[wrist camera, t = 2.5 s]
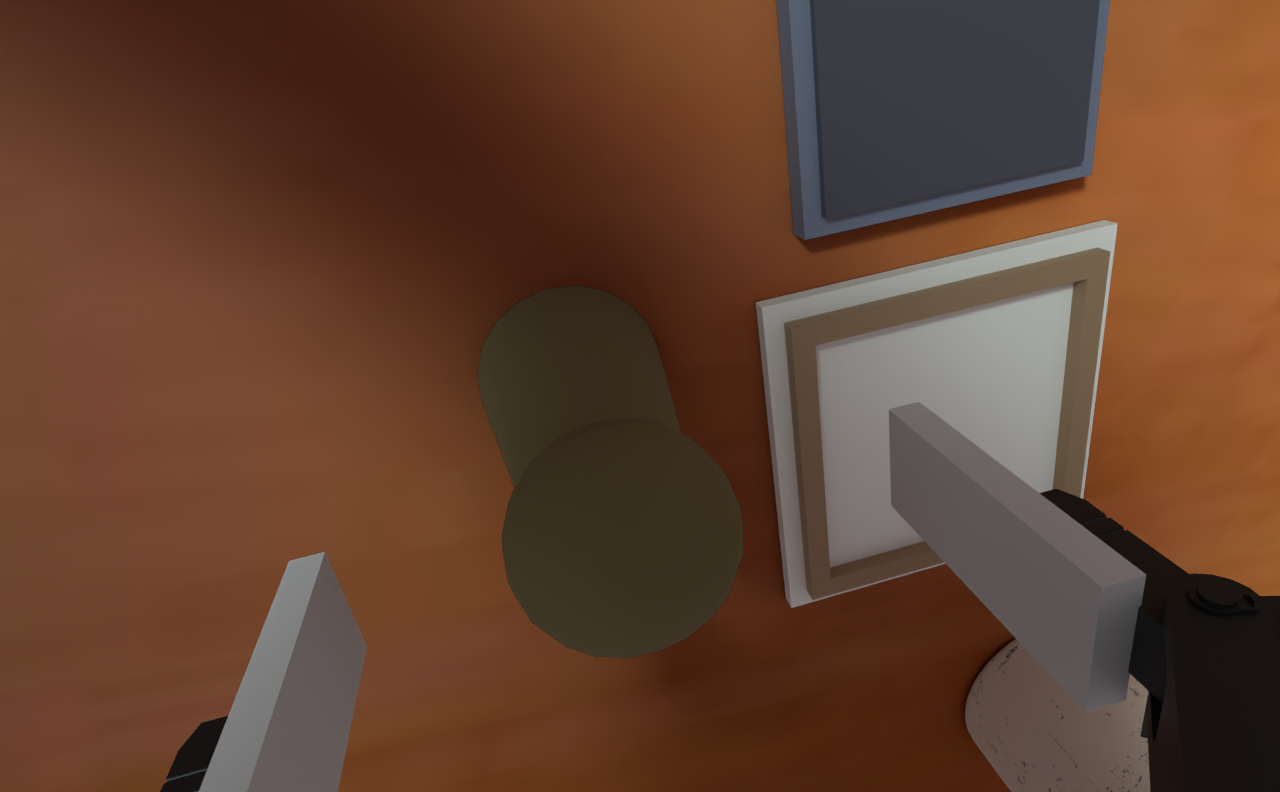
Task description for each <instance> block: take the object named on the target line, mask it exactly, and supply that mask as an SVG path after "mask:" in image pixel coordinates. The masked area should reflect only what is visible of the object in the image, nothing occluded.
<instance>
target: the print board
mask: <svg viewBox="0 0 1280 792" xmlns="http://www.w3.org/2000/svg"><path fill="white" fill-rule="evenodd" d="M1117 224H1118V223H1114V222H1110V221H1106V220H1102V221H1098V222H1094V223H1090V224H1085V225H1081V226H1077V227H1073V228H1068V229H1064V230H1060V231H1056V232H1051V233H1047V234H1043V235H1039V236H1034V237H1030V238H1026V239H1022V240H1017V241H1013V242H1009V243H1005V244H1001V245H996V246H992V247H988V248H984V249H979V250H975V251H971V252H967V253H962V254H958V255H954V256H950V257H945V258H941V259H937V260H933V261H929V262H924V263H920V264H916V265H912V266H907V267H903V268H899V269H895V270H890V271H886V272H882V273H878V274H873V275H869V276H865V277H861V278H856V279H852V280H848V281H844V282H840V283H835V284H831V285H827V286H823V287H818V288H814V289H810V290H806V291H801V292H797V293H793V294H789V295H784V296H780V297H776V298H772V299H767V300H763V301H759V302H756V311H757V321H758V331H759V341H760V350H761V360H762V370H763V380H764V390H765V400H766V409H767V419H768V429H769V439H770V449H771V459H772V468H773V478H774V488H775V498H776V508H777V518H778V527H779V537H780V547H781V557H782V567H783V576H784V586H785V596H786V600H787V601H788V603H789V605H790V607H791V608H793V607H797V606H800V605H804V604H807V603H811V602H814V601H818V600H821V599H825V598H828V597H832V596H835V595H839V594H842V593H846V592H849V591H853V590H856V589H860V588H863V587H866V586H870V585H873V584H877V583H880V582H884V581H887V580H891V579H894V578H898V577H901V576H905V575H908V574H912V573H915V572H919V571H922V570H926V569H929V568H933V567H936V566H940V565H943V564H946V563H945V562H944V561H943V560H942V559H941V558H940V557H939V556H938V555H937V554H936V553H935V552H934V551H933V550H932V549H931V547H930V546H929V545H928V544H927V543H926V542H925V541H924V540H923V539H922V538H921V537H920V536H919V535H918V534H917V533H916V531H915V530H914V529H913V528H912V527H911V526H910V525H909V524H908V523H907V522H906V521H905V520H904V519H903V518H902V517H901V516H900V514H899V513H898V512H897V511H896V510H895V509H894V508H893V507H892V506H891V480H890V441H889V409H892V408H896V407H900V406H903V405H907V404H911V403H915V402H920V403H921V404H923V405H924V406H925V407H927V408H928V409H929V410H931V411H932V412H933V413H934V414H936V415H937V416H938V417H940V418H941V419H942V420H944V421H945V422H946V423H948V424H949V425H950V426H952V427H953V428H954V429H956V430H957V431H958V432H959V433H961V434H962V435H963V436H965V437H966V438H967V439H969V440H970V441H971V442H973V443H974V444H975V445H977V446H978V447H979V448H981V449H982V450H983V451H984V452H986V453H987V454H988V455H990V456H991V457H992V458H994V459H995V460H996V461H998V462H999V463H1000V464H1002V465H1003V466H1004V467H1006V468H1007V469H1008V470H1009V471H1011V472H1012V473H1013V474H1015V475H1016V476H1017V477H1019V478H1020V479H1021V480H1023V481H1024V482H1025V483H1027V484H1028V485H1029V486H1030V487H1032V488H1033V489H1034V490H1036V491H1037V492H1038V493H1042V492H1045V491H1049V490H1053V489H1059V490H1061V491H1064V492H1067V493H1069V494H1072V495H1074V496H1077V497H1079V498H1082V499H1083V496H1084V488H1085V480H1086V472H1087V464H1088V456H1089V448H1090V440H1091V432H1092V424H1093V416H1094V408H1095V400H1096V392H1097V384H1098V376H1099V368H1100V360H1101V352H1102V344H1103V336H1104V328H1105V320H1106V312H1107V304H1108V296H1109V288H1110V280H1111V272H1112V264H1113V256H1114V248H1115V240H1116V232H1117Z"/></svg>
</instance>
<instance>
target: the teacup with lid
mask: <svg viewBox="0 0 1280 792" xmlns="http://www.w3.org/2000/svg"><path fill="white" fill-rule="evenodd" d="M1147 697H1148V690H1147V689H1146V688H1145V687H1144V686H1143V685H1142V684H1140V683H1139V682H1138V681H1137V680H1136V679H1135V678H1134V677H1133V676H1132V675H1131V674H1130V677H1129V683H1128V689H1127V695H1126V700H1125V701H1121V702H1118V703H1115V704H1112V705H1108V706H1105V707H1102V708H1099V709H1095V710H1092V711H1089V712H1086V713H1085V712H1084V711H1083V709H1082V708H1081V707H1080V706H1079V705H1078V704H1077V703H1076V702H1075V701H1074V700H1073V699H1072V698H1071V697H1070V696H1069V695H1068V693H1067V692H1066V691H1065V690H1064V689H1063V688H1062V687H1061V686H1060V685H1059V684H1058V683H1057V682H1056V681H1055V680H1054V679H1053V678H1052V676H1051V675H1050V674H1049V673H1048V672H1047V671H1046V670H1045V669H1044V668H1043V667H1042V666H1041V665H1040V664H1039V663H1038V662H1037V660H1036V659H1035V658H1034V657H1033V656H1032V655H1031V654H1030V653H1029V652H1028V651H1027V650H1026V649H1025V648H1024V647H1023V646H1022V644H1021V643H1020V642H1019V641H1018V640H1017V639H1015V640H1013V641H1012V642H1010V643H1009V644H1008V645H1006V646H1005V647H1004V648H1003V649H1001V650H1000V651H999V652H998V653H997V654H996V655H995V656H994V657H993V658H992V659H991V660H990V661H989V662H988V663H987V664H986V666H985V667H984V668H983V669H982V671H981V672H980V673H979V675H978V677H977V678H976V680H975V681H974V683H973V685H972V687H971V690H970V692H969V695H968V698H967V702H966V707H965V721H966V726H967V729H968V732H969V734H970V736H971V738H972V739H973V741H974V742H975V743H976V745H977V746H978V748H979V749H980V750H981V752H982V753H983V754H984V756H985V757H986V758H987V760H988V761H989V762H990V764H991V765H992V767H993V768H994V769H995V771H996V772H997V773H998V775H999V776H1000V777H1001V779H1002V780H1003V781H1004V783H1005V784H1006V785H1007V787H1008V788H1009V790H1010V791H1011V792H1150V774H1149V755H1148V739H1147V738H1143V737H1140V735H1141V730H1142V724H1143V719H1144V713H1145V708H1146V702H1147Z"/></svg>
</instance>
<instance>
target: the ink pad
mask: <svg viewBox="0 0 1280 792" xmlns="http://www.w3.org/2000/svg"><path fill="white" fill-rule="evenodd" d="M776 2H777V16H778V30H779V43H780V57H781V70H782V84H783V97H784V111H785V124H786V138H787V151H788V165H789V178H790V192H791V205H792V219H793V232H794V234H795V235H796V236H798V237H800V238H802V239H804V240H808V239H812V238H816V237H821V236H825V235H830V234H834V233H838V232H843V231H847V230H851V229H856V228H860V227H865V226H869V225H873V224H878V223H882V222H887V221H891V220H895V219H900V218H904V217H909V216H913V215H917V214H922V213H926V212H930V211H935V210H939V209H944V208H948V207H952V206H957V205H961V204H966V203H970V202H974V201H979V200H983V199H988V198H992V197H996V196H1001V195H1005V194H1010V193H1014V192H1018V191H1023V190H1027V189H1031V188H1036V187H1040V186H1045V185H1049V184H1053V183H1058V182H1062V181H1067V180H1071V179H1075V178H1080V177H1084V176H1089V175H1091V174H1092V165H1093V155H1094V146H1095V137H1096V127H1097V118H1098V108H1099V99H1100V89H1101V80H1102V70H1103V61H1104V52H1105V42H1106V33H1107V23H1108V14H1109V4H1110V0H776Z"/></svg>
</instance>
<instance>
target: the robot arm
mask: <svg viewBox="0 0 1280 792" xmlns="http://www.w3.org/2000/svg"><path fill="white" fill-rule="evenodd" d="M889 441H890V480H891V506H892V507H893V508H894V509H895V510H896V511H897V512H898V513H899V514H900V516H901V517H902V518H903V519H904V520H905V521H906V522H907V523H908V524H909V525H910V526H911V527H912V528H913V529H914V530H915V531H916V533H917V534H918V535H919V536H920V537H921V538H922V539H923V540H924V541H925V542H926V543H927V544H928V545H929V546H930V547H931V549H932V550H933V551H934V552H935V553H936V554H937V555H938V556H939V557H940V558H941V559H942V560H943V561H944V562H945V563H946V565H947V566H948V567H949V568H950V569H951V570H952V571H953V572H954V573H955V574H956V575H957V576H958V577H959V578H960V579H961V581H962V582H963V583H964V584H965V585H966V586H967V587H968V588H969V589H970V590H971V591H972V592H973V593H974V594H975V595H976V597H977V598H978V599H979V600H980V601H981V602H982V603H983V604H984V605H985V606H986V607H987V608H988V609H989V610H990V611H991V612H992V614H993V615H994V616H995V617H996V618H997V619H998V620H999V621H1000V622H1001V623H1002V624H1003V625H1004V626H1005V627H1006V628H1007V630H1008V631H1009V632H1010V633H1011V634H1012V635H1013V636H1014V637H1015V638H1016V639H1017V640H1018V641H1019V642H1020V643H1021V644H1022V646H1023V647H1024V648H1025V649H1026V650H1027V651H1028V652H1029V653H1030V654H1031V655H1032V656H1033V657H1034V658H1035V659H1036V660H1037V662H1038V663H1039V664H1040V665H1041V666H1042V667H1043V668H1044V669H1045V670H1046V671H1047V672H1048V673H1049V674H1050V675H1051V676H1052V678H1053V679H1054V680H1055V681H1056V682H1057V683H1058V684H1059V685H1060V686H1061V687H1062V688H1063V689H1064V690H1065V691H1066V692H1067V693H1068V695H1069V696H1070V697H1071V698H1072V699H1073V700H1074V701H1075V702H1076V703H1077V704H1078V705H1079V706H1080V707H1081V708H1082V709H1083V711H1084V712H1085V713H1086V712H1089V711H1092V710H1095V709H1099V708H1102V707H1105V706H1108V705H1112V704H1115V703H1118V702H1121V701H1125V700H1126V695H1127V689H1128V683H1129V677H1130V674H1131V675H1132V676H1133V677H1134V678H1135V679H1136V680H1137V681H1138V682H1139V683H1140V684H1142V685H1143V686H1144V687H1145V688H1146V689H1147V690H1148V697H1147V702H1146V708H1145V713H1144V719H1143V724H1142V730H1141V735H1140V737H1143V738H1147V739H1148V755H1149V774H1150V792H1280V596H1259V595H1258V594H1256V593H1255V592H1254V591H1253V590H1251V589H1250V588H1248V587H1246V586H1244V585H1242V584H1240V583H1238V582H1236V581H1233V580H1231V579H1227V578H1223V577H1219V576H1215V575H1209V574H1188V573H1187V572H1185V571H1184V570H1183V569H1181V568H1180V567H1178V566H1177V565H1176V564H1174V563H1173V562H1171V561H1170V560H1169V559H1167V558H1166V557H1164V556H1163V555H1162V554H1160V553H1159V552H1157V551H1156V550H1155V549H1153V548H1152V547H1150V546H1149V545H1148V544H1146V543H1145V542H1143V541H1142V540H1141V539H1139V538H1138V537H1136V536H1135V535H1134V534H1132V533H1131V532H1129V531H1128V530H1126V531H1125V530H1124V529H1123V527H1122V526H1121V525H1120V524H1118V523H1117V522H1115V521H1114V520H1113V519H1111V518H1107V517H1106V514H1104V513H1103V512H1101V511H1100V510H1099V509H1097V508H1096V507H1094V506H1093V505H1092V504H1090V503H1089V502H1087V501H1086V500H1085V499H1082V498H1079V497H1077V496H1074V495H1072V494H1069V493H1067V492H1064V491H1061V490H1059V489H1053V490H1049V491H1045V492H1042V493H1038V492H1037V491H1036V490H1034V489H1033V488H1032V487H1030V486H1029V485H1028V484H1027V483H1025V482H1024V481H1023V480H1021V479H1020V478H1019V477H1017V476H1016V475H1015V474H1013V473H1012V472H1011V471H1009V470H1008V469H1007V468H1006V467H1004V466H1003V465H1002V464H1000V463H999V462H998V461H996V460H995V459H994V458H992V457H991V456H990V455H988V454H987V453H986V452H984V451H983V450H982V449H981V448H979V447H978V446H977V445H975V444H974V443H973V442H971V441H970V440H969V439H967V438H966V437H965V436H963V435H962V434H961V433H959V432H958V431H957V430H956V429H954V428H953V427H952V426H950V425H949V424H948V423H946V422H945V421H944V420H942V419H941V418H940V417H938V416H937V415H936V414H934V413H933V412H932V411H931V410H929V409H928V408H927V407H925V406H924V405H923V404H921V403H920V402H915V403H911V404H907V405H903V406H900V407H896V408H892V409H889ZM366 647H367V646H366V643H365V641H364V639H363V637H362V634H361V632H360V630H359V628H358V625H357V623H356V621H355V618H354V616H353V614H352V612H351V609H350V607H349V605H348V603H347V600H346V598H345V596H344V594H343V591H342V589H341V587H340V585H339V582H338V580H337V578H336V576H335V573H334V571H333V569H332V567H331V564H330V562H329V560H328V558H327V555H326V553H325V552H323V553H319V554H315V555H311V556H307V557H303V558H299V559H295V560H291V561H289V563H288V565H287V568H286V570H285V573H284V575H283V578H282V580H281V583H280V585H279V588H278V591H277V593H276V596H275V598H274V601H273V603H272V606H271V608H270V611H269V614H268V616H267V619H266V621H265V624H264V626H263V629H262V631H261V634H260V637H259V639H258V642H257V644H256V647H255V649H254V652H253V654H252V657H251V659H250V662H249V665H248V667H247V670H246V672H245V675H244V677H243V680H242V682H241V685H240V688H239V690H238V693H237V695H236V698H235V700H234V703H233V705H232V708H231V711H230V713H229V716H226V717H222V718H218V719H215V720H211V721H207V722H204V723H201V724H200V725H199V727H198V728H197V729H196V730H195V731H194V733H193V734H192V735H191V736H190V737H189V739H188V740H187V741H186V742H185V743H184V745H183V746H182V747H181V748H180V749H179V751H178V753H177V755H176V758H175V760H174V762H173V764H172V767H171V769H170V771H169V773H168V776H167V783H164V785H163V787H162V789H161V791H160V792H338V787H339V782H340V777H341V772H342V767H343V762H344V757H345V752H346V747H347V742H348V737H349V732H350V727H351V722H352V717H353V712H354V707H355V702H356V697H357V692H358V687H359V682H360V677H361V672H362V667H363V662H364V657H365V652H366Z"/></svg>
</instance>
